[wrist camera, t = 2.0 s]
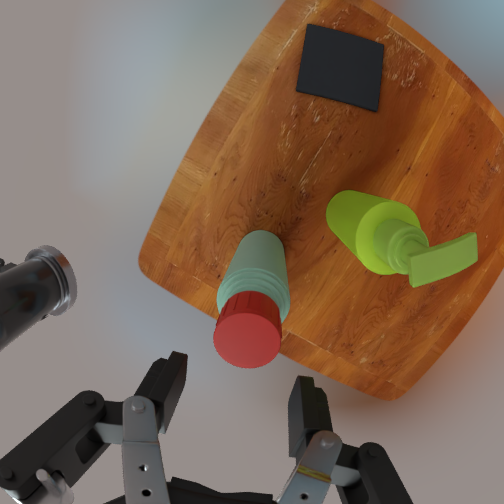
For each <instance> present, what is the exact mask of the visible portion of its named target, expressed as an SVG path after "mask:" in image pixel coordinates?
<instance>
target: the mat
mask: <svg viewBox="0 0 504 504" xmlns="http://www.w3.org/2000/svg"><path fill="white" fill-rule="evenodd" d="M383 50H384V45H383V44H380V43H377V42H374V41H371V40H368V39H365V38H362V37H359V36H355V35H352V34H348V33H345V32H341V31H337V30H334V29H329V28H325V27H321V26H317V25H312V24H307V29H306V35H305V41H304V47H303V53H302V59H301V64H300V70H299V76H298V81H297V87H296V91H297V92H302V93H307V94H311V95H316V96H320V97H324V98H328V99H332V100H336V101H340V102H344V103H347V104H351V105H354V106H358V107H361V108H364V109H368V110H371V111H374V112H377V110H378V102H379V94H380V85H381V75H382V63H383Z"/></svg>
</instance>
